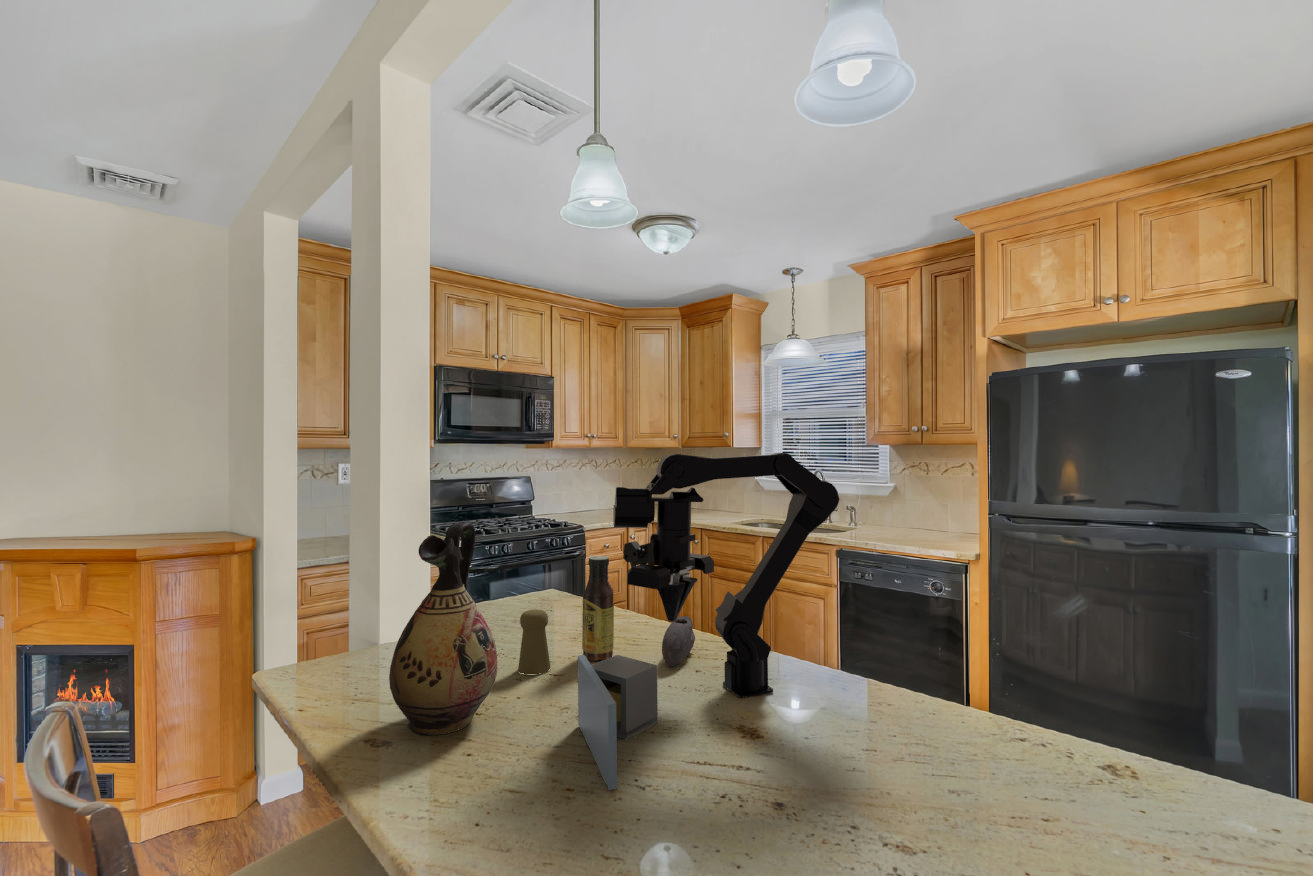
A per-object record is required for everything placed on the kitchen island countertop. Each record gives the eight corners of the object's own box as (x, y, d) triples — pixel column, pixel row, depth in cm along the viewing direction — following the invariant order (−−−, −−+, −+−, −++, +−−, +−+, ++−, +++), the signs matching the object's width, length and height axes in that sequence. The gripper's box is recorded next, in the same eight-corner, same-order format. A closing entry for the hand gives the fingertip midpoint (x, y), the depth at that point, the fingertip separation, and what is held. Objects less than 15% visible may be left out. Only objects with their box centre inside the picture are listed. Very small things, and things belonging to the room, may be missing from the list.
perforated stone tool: (679, 674, 112) (679, 635, 112) (652, 671, 113) (651, 633, 114) (699, 649, 126) (698, 615, 126) (674, 647, 128) (674, 613, 128)
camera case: (618, 709, 96) (617, 654, 96) (657, 722, 91) (657, 665, 91) (586, 724, 91) (585, 667, 91) (626, 740, 86) (625, 678, 86)
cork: (511, 672, 113) (510, 612, 114) (532, 662, 119) (531, 605, 119) (536, 677, 111) (536, 616, 111) (557, 667, 116) (556, 608, 116)
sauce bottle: (578, 655, 123) (577, 555, 123) (607, 650, 125) (606, 553, 126) (588, 665, 117) (587, 560, 118) (619, 660, 120) (618, 558, 120)
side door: (584, 723, 91) (584, 654, 91) (617, 788, 73) (616, 703, 73) (578, 723, 90) (577, 655, 91) (608, 790, 72) (608, 704, 73)
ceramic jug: (466, 750, 83) (465, 530, 84) (366, 741, 86) (366, 528, 87) (518, 701, 100) (518, 517, 101) (433, 694, 103) (433, 516, 104)
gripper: (664, 519, 115) (662, 602, 115) (601, 528, 100) (599, 624, 100) (716, 525, 109) (714, 612, 109) (658, 535, 94) (655, 638, 93)
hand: (671, 621), depth 103 cm, fingers closed
